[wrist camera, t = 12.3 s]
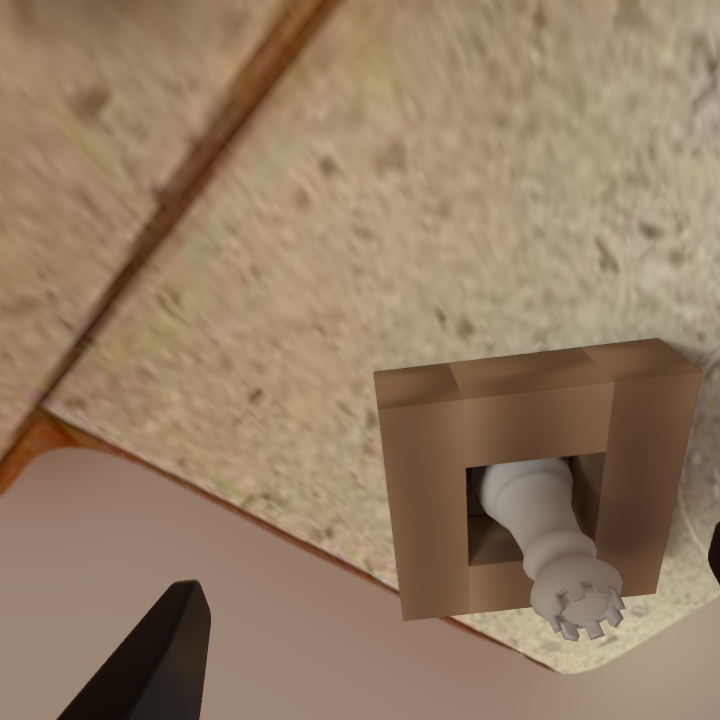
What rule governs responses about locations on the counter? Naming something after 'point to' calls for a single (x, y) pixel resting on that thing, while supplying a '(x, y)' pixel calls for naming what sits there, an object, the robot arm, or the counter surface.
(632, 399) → the walnut socket
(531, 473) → the rook chess piece
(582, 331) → the counter surface
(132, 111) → the counter surface
